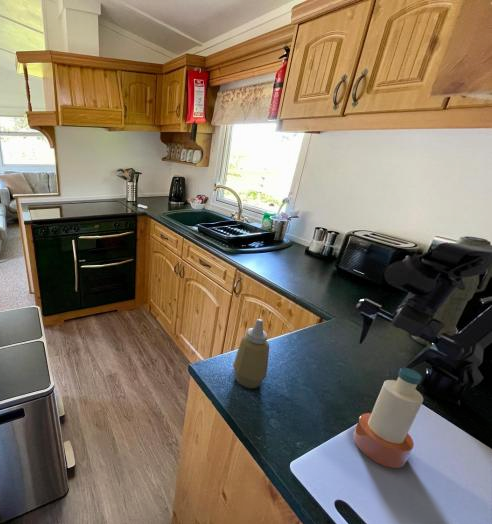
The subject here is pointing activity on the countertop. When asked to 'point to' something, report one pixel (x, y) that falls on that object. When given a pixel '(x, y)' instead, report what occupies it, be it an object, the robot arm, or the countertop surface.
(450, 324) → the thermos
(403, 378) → the cream bottle
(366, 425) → the orange short round piece
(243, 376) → the squeeze bottle
